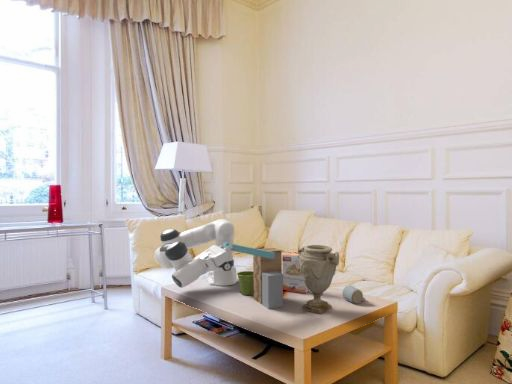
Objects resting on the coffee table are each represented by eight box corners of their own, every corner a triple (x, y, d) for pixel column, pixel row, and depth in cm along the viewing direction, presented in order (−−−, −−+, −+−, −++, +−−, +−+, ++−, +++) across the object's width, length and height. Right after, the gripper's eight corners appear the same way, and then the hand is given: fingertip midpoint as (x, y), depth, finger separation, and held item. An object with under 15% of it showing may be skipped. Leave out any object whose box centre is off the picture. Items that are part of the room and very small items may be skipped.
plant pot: (262, 293, 203) (262, 272, 203) (247, 298, 195) (247, 277, 194) (247, 289, 211) (247, 269, 211) (232, 293, 203) (232, 273, 202)
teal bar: (223, 248, 174) (224, 242, 174) (271, 258, 183) (272, 252, 184) (225, 249, 171) (226, 242, 171) (273, 259, 181) (275, 253, 181)
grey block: (262, 304, 183) (261, 272, 183) (276, 302, 187) (276, 271, 186) (268, 308, 177) (268, 275, 177) (283, 306, 180) (282, 274, 180)
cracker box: (282, 291, 207) (281, 254, 207) (286, 288, 212) (286, 252, 212) (305, 294, 200) (305, 255, 200) (309, 291, 206) (309, 254, 205)
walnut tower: (253, 299, 193) (253, 249, 192) (274, 295, 198) (273, 247, 197) (261, 303, 185) (260, 252, 184) (282, 300, 190) (281, 250, 189)
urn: (350, 310, 173) (350, 247, 173) (327, 320, 161) (326, 252, 160) (310, 299, 191) (309, 242, 190) (286, 307, 178) (285, 246, 178)
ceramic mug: (352, 305, 181) (352, 289, 181) (342, 300, 188) (342, 285, 188) (369, 302, 185) (369, 287, 185) (358, 298, 193) (358, 283, 193)
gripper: (203, 262, 179) (226, 246, 184) (215, 271, 160) (240, 253, 165) (196, 252, 178) (220, 236, 182) (208, 260, 159) (234, 242, 163)
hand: (230, 244), depth 173 cm, fingers closed on teal bar, 3 cm apart
